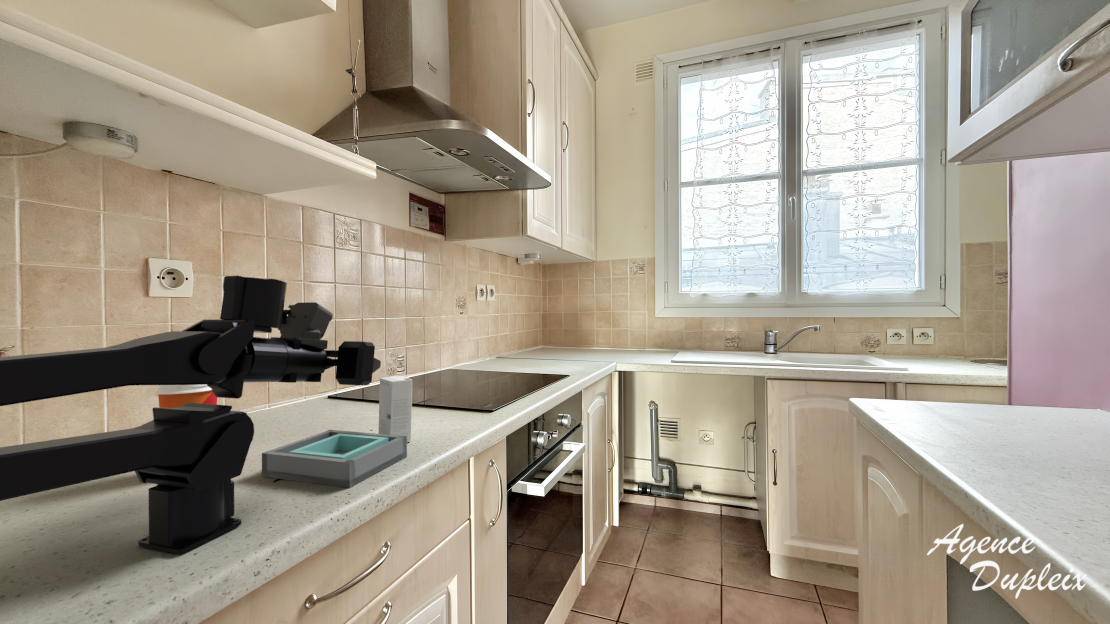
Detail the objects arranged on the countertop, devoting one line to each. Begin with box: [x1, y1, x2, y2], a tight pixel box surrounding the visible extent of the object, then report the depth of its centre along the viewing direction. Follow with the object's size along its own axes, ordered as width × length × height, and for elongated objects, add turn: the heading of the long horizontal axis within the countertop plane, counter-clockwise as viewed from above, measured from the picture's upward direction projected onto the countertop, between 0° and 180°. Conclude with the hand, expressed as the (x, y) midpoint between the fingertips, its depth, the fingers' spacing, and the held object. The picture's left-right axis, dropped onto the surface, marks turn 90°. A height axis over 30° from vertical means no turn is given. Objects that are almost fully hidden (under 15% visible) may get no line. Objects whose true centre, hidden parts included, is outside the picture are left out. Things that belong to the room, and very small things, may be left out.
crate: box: [261, 429, 408, 489], centre depth 67 cm, size 13×16×4 cm
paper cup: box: [154, 384, 218, 408], centre depth 66 cm, size 8×8×14 cm
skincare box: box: [378, 375, 413, 444], centre depth 80 cm, size 6×4×12 cm
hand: (356, 363), depth 70 cm, fingers open, 9 cm apart
